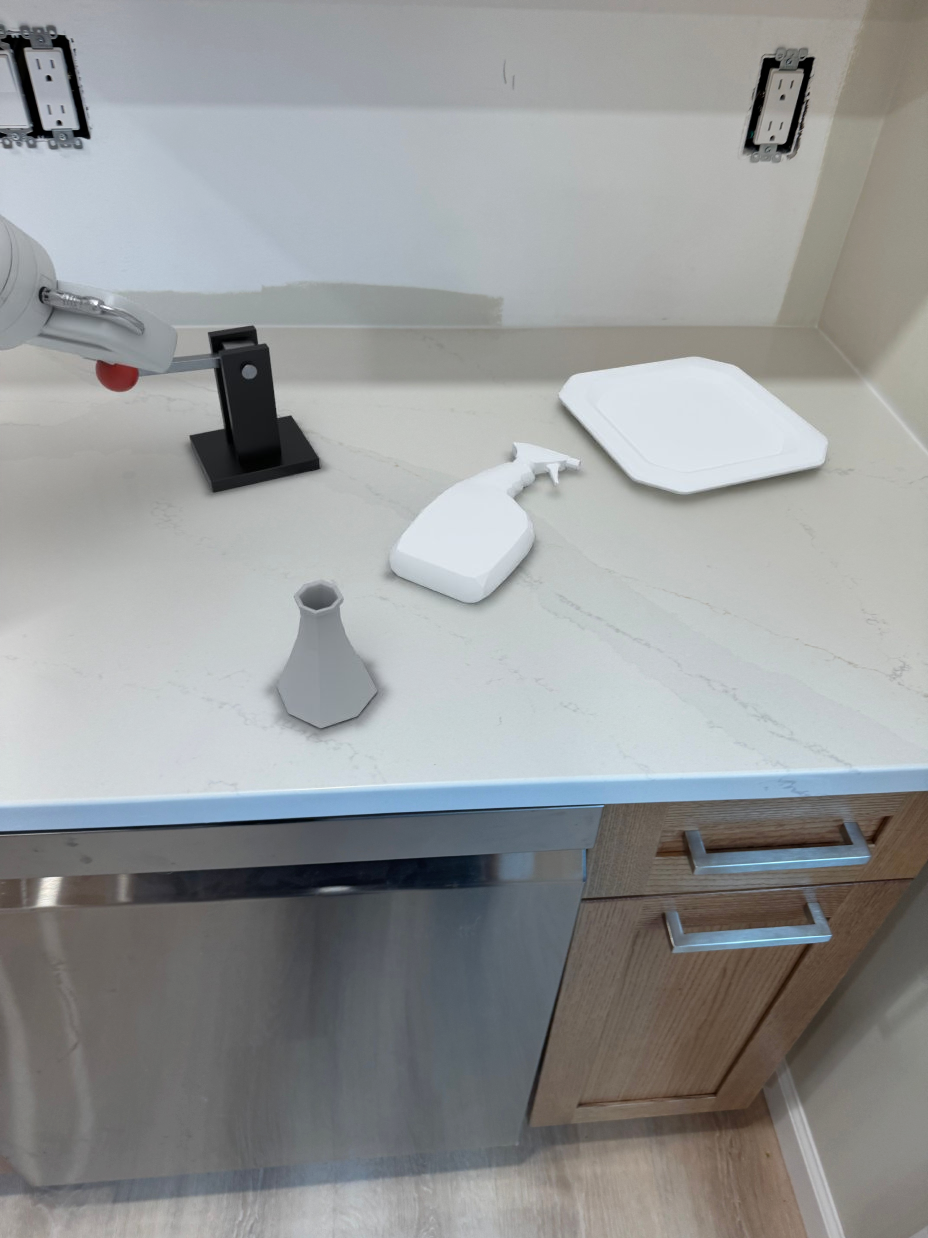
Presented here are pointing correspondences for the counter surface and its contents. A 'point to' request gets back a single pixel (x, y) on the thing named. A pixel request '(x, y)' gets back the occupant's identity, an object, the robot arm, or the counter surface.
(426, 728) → the counter surface
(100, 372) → the lever
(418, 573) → the spray bottle
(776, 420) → the plate
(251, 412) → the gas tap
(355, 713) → the flask
